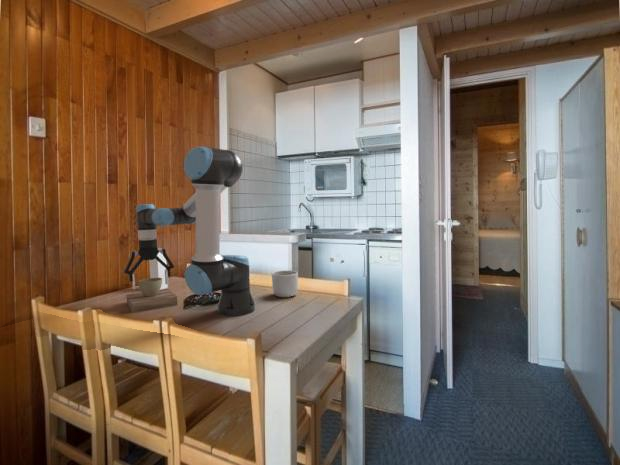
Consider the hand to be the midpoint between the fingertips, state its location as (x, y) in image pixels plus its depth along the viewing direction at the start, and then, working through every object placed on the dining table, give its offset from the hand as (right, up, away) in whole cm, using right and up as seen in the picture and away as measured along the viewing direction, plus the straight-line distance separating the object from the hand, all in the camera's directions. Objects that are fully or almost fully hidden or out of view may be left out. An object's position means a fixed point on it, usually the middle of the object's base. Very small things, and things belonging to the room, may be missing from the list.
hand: (150, 286), depth 157 cm
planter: (+60, -6, +11) cm, 61 cm away
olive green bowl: (0, -4, 0) cm, 4 cm away
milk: (-9, -6, +31) cm, 33 cm away
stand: (0, -8, +1) cm, 8 cm away
